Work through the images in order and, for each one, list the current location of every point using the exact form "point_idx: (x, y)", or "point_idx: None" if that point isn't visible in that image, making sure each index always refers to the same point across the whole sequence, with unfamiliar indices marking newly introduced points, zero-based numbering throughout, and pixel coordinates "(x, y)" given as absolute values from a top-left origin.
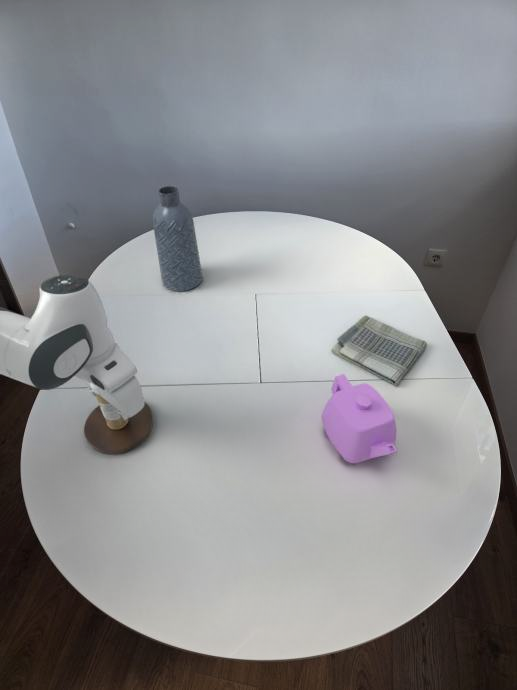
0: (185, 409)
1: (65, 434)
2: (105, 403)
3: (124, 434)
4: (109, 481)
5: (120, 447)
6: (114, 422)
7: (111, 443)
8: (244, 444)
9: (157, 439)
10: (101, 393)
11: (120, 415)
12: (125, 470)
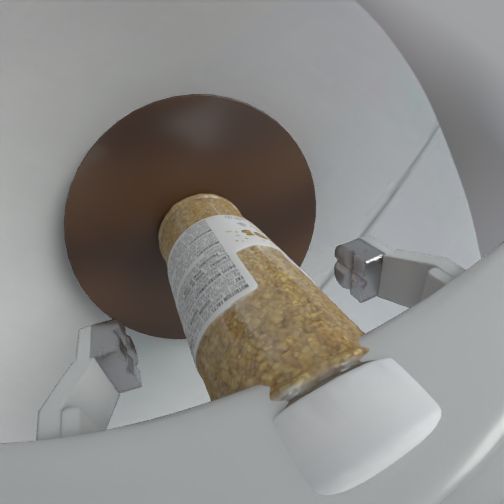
0: (138, 390)
1: (295, 59)
2: (216, 326)
3: (126, 232)
4: (2, 110)
5: (75, 197)
6: (172, 236)
7: (115, 171)
8: (5, 424)
9: (70, 306)
10: (243, 479)
11: (104, 333)
12: (7, 173)
